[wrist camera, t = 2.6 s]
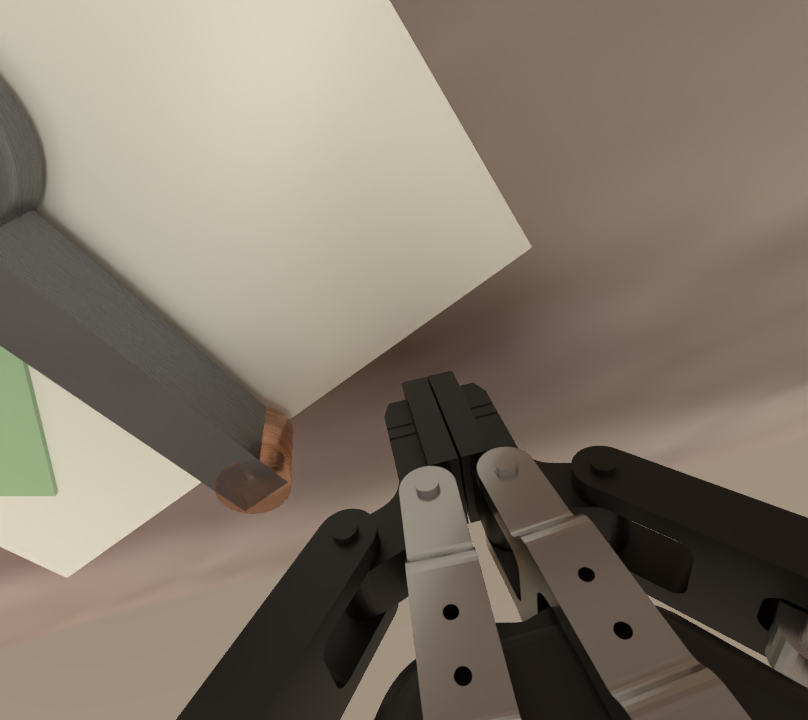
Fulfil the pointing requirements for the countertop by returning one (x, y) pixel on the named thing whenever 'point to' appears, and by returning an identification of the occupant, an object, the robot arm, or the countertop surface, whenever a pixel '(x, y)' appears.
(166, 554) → the countertop surface
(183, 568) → the countertop surface
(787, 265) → the countertop surface
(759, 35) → the countertop surface
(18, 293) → the metal serving spoon
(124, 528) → the dial plate
